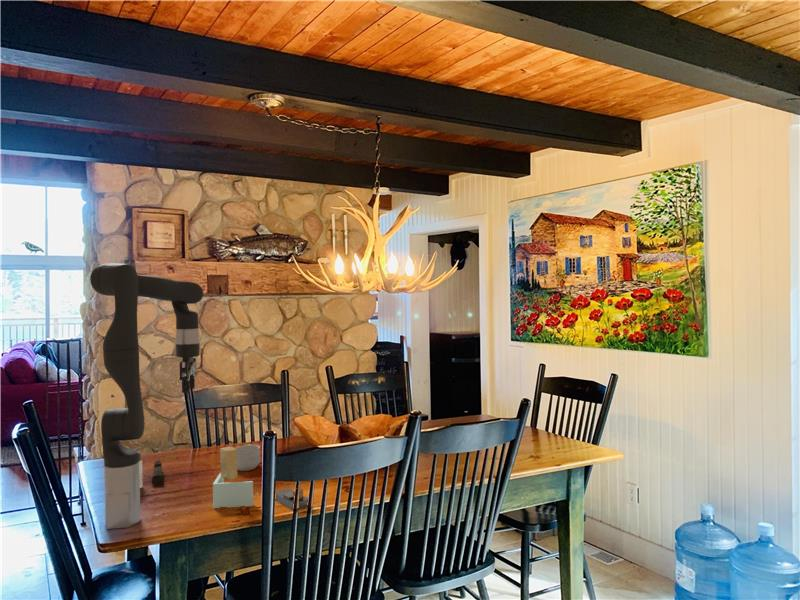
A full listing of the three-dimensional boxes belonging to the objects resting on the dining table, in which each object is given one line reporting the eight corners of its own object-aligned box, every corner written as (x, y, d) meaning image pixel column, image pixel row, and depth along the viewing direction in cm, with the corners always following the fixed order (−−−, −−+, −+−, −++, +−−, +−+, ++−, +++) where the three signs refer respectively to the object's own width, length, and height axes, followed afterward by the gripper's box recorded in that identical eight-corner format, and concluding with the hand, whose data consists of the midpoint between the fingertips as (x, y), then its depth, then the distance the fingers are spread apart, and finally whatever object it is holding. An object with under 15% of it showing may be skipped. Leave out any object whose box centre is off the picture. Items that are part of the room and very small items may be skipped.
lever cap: (220, 476, 186) (220, 448, 186) (231, 473, 189) (230, 446, 189) (226, 479, 183) (226, 451, 183) (237, 477, 185) (236, 449, 185)
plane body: (271, 498, 187) (271, 482, 186) (288, 493, 190) (288, 478, 190) (292, 510, 176) (292, 493, 176) (309, 505, 179) (309, 489, 179)
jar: (144, 483, 204) (144, 449, 204) (140, 491, 196) (139, 455, 196) (117, 486, 201) (116, 451, 201) (111, 493, 193) (110, 458, 193)
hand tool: (164, 485, 202) (163, 472, 202) (151, 487, 201) (151, 473, 201) (166, 470, 220) (165, 458, 220) (154, 472, 219) (154, 459, 219)
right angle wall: (252, 506, 180) (252, 482, 180) (213, 508, 179) (212, 484, 178) (258, 493, 192) (257, 470, 192) (220, 495, 190) (220, 472, 190)
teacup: (253, 473, 213) (253, 452, 213) (226, 472, 215) (225, 451, 215) (268, 462, 227) (267, 442, 227) (242, 462, 229) (241, 441, 229)
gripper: (195, 343, 187) (196, 393, 187) (203, 340, 201) (204, 387, 201) (170, 344, 186) (171, 394, 186) (180, 341, 200) (181, 387, 200)
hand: (188, 390), depth 194 cm, fingers open, 8 cm apart
